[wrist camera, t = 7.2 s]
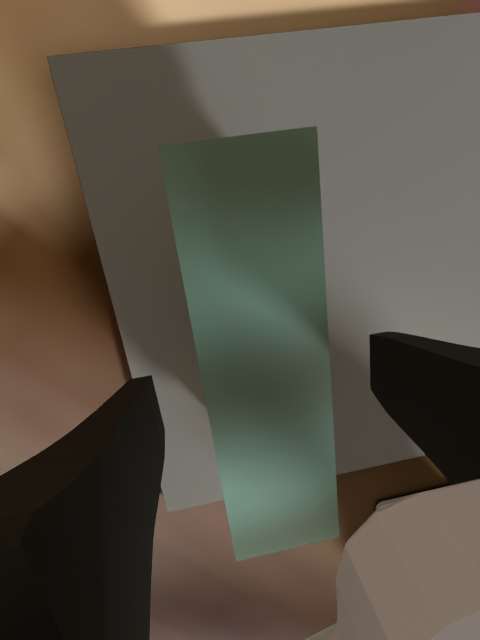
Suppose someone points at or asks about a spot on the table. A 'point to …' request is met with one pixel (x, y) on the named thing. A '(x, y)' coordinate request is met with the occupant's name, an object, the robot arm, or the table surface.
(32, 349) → the table surface
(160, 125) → the board
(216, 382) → the beam
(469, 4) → the table surface
